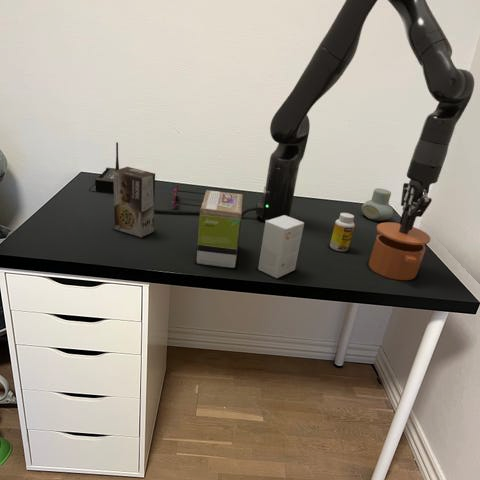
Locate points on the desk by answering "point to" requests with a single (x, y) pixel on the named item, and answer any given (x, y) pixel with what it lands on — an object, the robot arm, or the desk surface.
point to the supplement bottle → (342, 232)
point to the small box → (280, 245)
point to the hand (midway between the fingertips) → (405, 227)
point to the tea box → (219, 229)
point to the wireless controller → (107, 178)
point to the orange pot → (396, 258)
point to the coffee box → (134, 201)
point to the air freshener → (378, 206)
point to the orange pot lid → (403, 233)
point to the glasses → (178, 197)
